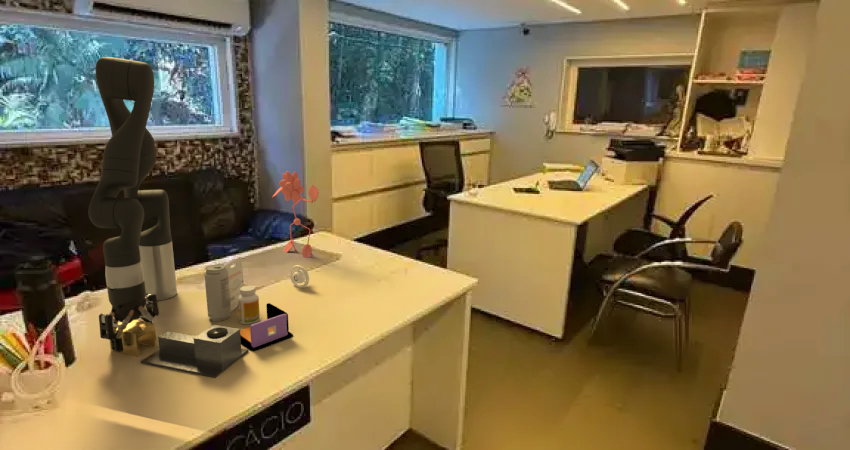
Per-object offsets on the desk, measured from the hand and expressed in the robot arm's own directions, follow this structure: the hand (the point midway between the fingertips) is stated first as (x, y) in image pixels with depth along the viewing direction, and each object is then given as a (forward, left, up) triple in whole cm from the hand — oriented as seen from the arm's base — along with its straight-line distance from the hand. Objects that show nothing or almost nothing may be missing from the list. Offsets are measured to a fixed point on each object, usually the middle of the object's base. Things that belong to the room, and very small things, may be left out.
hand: (133, 343), depth 112 cm
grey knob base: (+17, +1, -1) cm, 17 cm away
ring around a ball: (+18, +49, -2) cm, 52 cm away
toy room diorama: (+25, +15, -2) cm, 30 cm away
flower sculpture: (0, +74, -2) cm, 74 cm away
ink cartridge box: (+6, +28, -2) cm, 29 cm away
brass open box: (0, 0, -1) cm, 1 cm away
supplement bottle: (+17, +22, -2) cm, 28 cm away
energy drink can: (+8, +21, -2) cm, 23 cm away
